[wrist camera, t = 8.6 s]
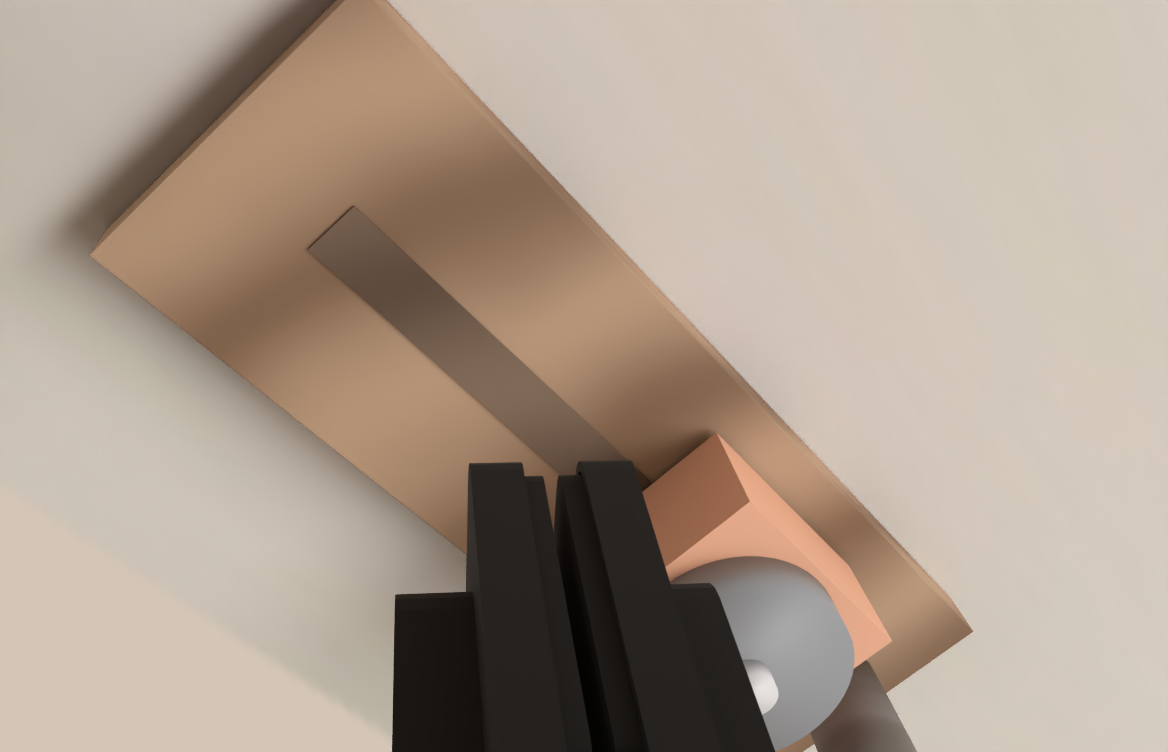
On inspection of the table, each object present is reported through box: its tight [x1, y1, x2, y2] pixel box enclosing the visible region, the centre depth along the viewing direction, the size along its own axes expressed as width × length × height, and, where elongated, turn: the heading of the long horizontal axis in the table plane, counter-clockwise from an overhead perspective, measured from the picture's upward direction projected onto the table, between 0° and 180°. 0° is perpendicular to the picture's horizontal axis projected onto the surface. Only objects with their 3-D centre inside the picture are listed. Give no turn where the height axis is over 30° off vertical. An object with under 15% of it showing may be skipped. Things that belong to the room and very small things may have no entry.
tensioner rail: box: [89, 0, 973, 752], centre depth 26 cm, size 24×8×6 cm, turn 41°
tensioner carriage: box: [642, 433, 892, 751], centre depth 27 cm, size 6×6×5 cm
